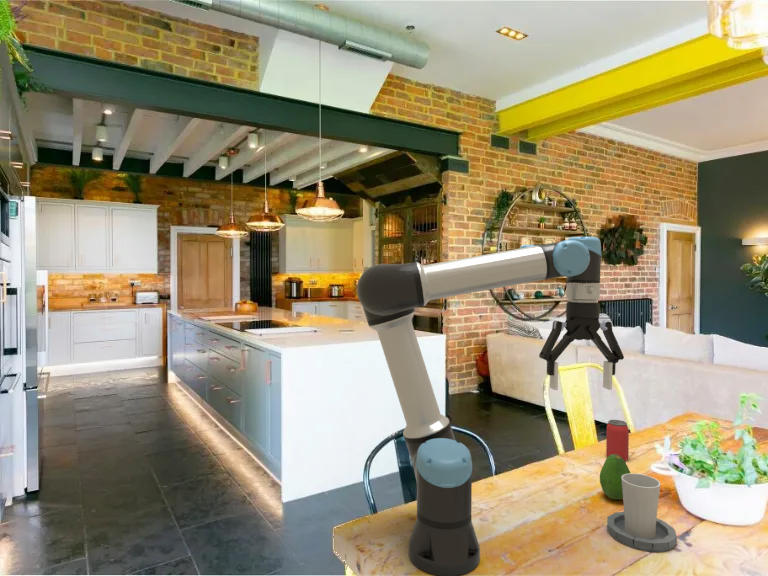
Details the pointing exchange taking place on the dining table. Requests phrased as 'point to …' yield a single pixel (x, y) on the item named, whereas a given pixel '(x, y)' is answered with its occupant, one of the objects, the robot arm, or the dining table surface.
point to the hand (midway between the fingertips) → (580, 388)
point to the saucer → (659, 543)
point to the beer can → (617, 439)
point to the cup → (640, 504)
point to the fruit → (613, 476)
